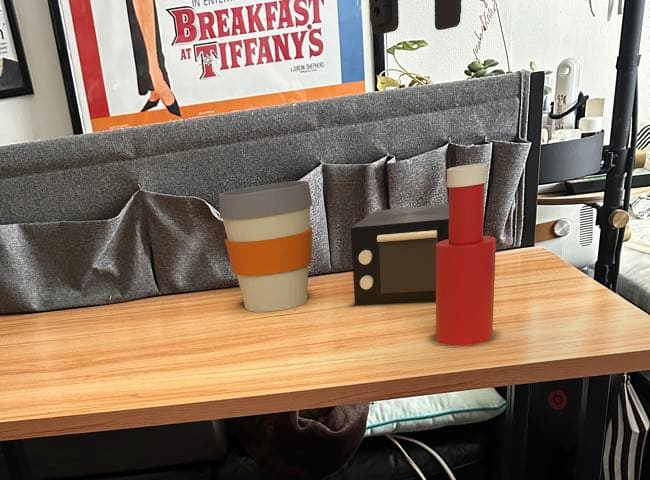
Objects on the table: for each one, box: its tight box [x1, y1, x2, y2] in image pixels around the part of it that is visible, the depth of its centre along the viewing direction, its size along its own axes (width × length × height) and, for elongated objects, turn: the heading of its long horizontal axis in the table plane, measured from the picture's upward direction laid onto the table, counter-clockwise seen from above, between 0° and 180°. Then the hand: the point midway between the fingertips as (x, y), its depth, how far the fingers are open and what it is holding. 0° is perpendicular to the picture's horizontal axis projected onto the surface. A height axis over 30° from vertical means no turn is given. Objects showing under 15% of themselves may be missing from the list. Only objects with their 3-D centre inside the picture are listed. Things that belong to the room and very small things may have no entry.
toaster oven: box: [350, 203, 449, 307], centre depth 94 cm, size 12×15×10 cm
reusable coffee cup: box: [218, 180, 313, 313], centre depth 99 cm, size 13×13×15 cm
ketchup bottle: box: [435, 163, 497, 346], centre depth 71 cm, size 6×6×16 cm
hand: (417, 30), depth 62 cm, fingers open, 8 cm apart
